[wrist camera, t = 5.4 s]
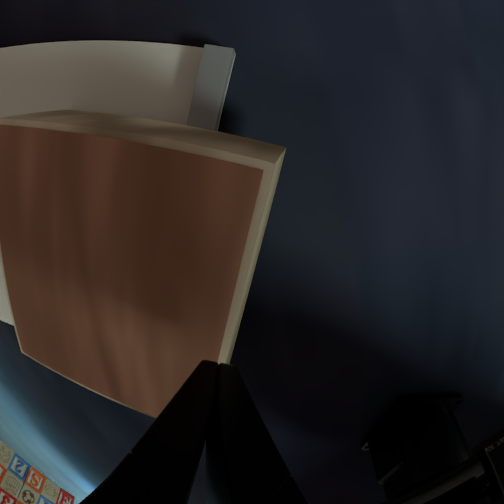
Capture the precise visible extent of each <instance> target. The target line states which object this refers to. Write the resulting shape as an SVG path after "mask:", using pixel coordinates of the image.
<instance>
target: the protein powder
mask: <svg viewBox="0 0 504 504" xmlns="http://www.w3.org/2000/svg"><path fill="white" fill-rule="evenodd" d="M482 448H484V449H485V450H486V452H487V453H488V455H489V457H490V458H491V460H492V462H493V464H494V467H495V469H496V471H497V473H498V476H499V478H500V480H501V483H502V486H503V488H504V429H502V430H501V431H499V432H497V433H496V434H494V435H493V436H491V437H490V438H488V439H487V440H486V441H484V442H483V443H481V444H480V445H478V446H477V447H475V448H473V449H472V450H470V451H471V453H472V455H473V456H474V455H475V454H477V452H478V451H479V450H481V449H482ZM484 477H486V474H485V473H484V474H482V475H481V476H479V477H477V480H478V481H479V480H481V479H483V478H484Z"/></svg>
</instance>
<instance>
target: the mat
mask: <svg viewBox="0 0 504 504" xmlns="http://www.w3.org/2000/svg"><path fill="white" fill-rule="evenodd" d="M235 55H236V54H235V51H234V49H233V48H227V47H221V46H215V45H209V44H205V46H204V48H200V47H193V46H185V45H176V44H166V43H154V42H138V41H107V40H93V41H63V42H48V43H37V44H27V45H19V46H12V47H5V48H0V118H1V117H7V116H14V115H21V114H29V113H37V112H46V111H57V110H79V111H90V112H99V113H108V114H116V115H124V116H132V117H139V118H146V119H152V120H159V121H165V122H171V123H176V124H182V125H188V126H193V127H198V128H203V129H208V130H213V131H218V127H219V122H220V118H221V113H222V109H223V104H224V100H225V96H226V92H227V87H228V83H229V79H230V75H231V71H232V67H233V63H234V59H235ZM0 320H1V321H4V322H6V323H9V324H11V325H13V326H14V324H13V320H12V315H11V311H10V307H9V302H8V298H7V293H6V288H5V283H4V277H3V271H2V265H1V259H0Z"/></svg>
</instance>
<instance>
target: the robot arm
mask: <svg viewBox="0 0 504 504" xmlns="http://www.w3.org/2000/svg"><path fill="white" fill-rule="evenodd" d="M462 401H463V397H462V395H461V394H451V395H419V396H402V397H400V398H398V399H397V400H396V402H395V403H394V404H393V405H392V407H391V408H390V409H389V411H388V412H387V413H386V414H385V416H384V417H383V418H382V419H381V421H380V422H379V423H378V424H377V425H376V427H375V428H374V429H373V430H372V431H371V433H370V434H369V435H368V436H367V437H366V438H365V440H364V441H363V442H362V443H361V444H360V445H361V449H362V450H370V454H371V458H372V461H373V465H374V469H375V473H376V477H377V481H378V482H379V483H380V484H382V483H383V486H384V490H385V494H386V498H387V502H384V503H382V504H504V488H503V486H502V483H501V480H500V478H499V476H498V473H497V471H496V469H495V467H494V464H493V462H492V460H491V458H490V457H489V455H488V453H487V452H486V450H485V449H484V448H482V449H481V450H479V451H478V452H477V454H475V455H474V456H473V455H472V453H471V451H470V448H469V446H468V444H467V442H466V439H465V437H464V435H463V433H462V431H461V429H460V426H459V424H458V422H457V420H456V418H455V416H454V414H453V412H454V411H455V410H456V408H457V407H458V406H459V405H460V404H461V403H462ZM205 440H206V498H207V504H308V503H307V501H306V500H305V498H304V496H303V495H302V493H301V492H300V490H299V488H298V486H297V484H296V483H295V481H294V479H293V477H291V476H290V472H289V470H288V468H287V466H286V465H285V463H284V461H283V459H282V457H281V455H280V453H279V451H278V449H277V448H276V446H275V444H274V442H273V440H272V438H271V436H270V434H269V432H268V430H267V428H266V426H265V424H264V422H263V420H262V418H261V416H260V414H259V412H258V410H257V408H256V406H255V404H254V402H253V400H252V398H251V396H250V394H249V392H248V390H247V388H246V386H245V384H244V382H243V379H242V377H241V375H240V373H239V371H238V369H237V367H236V366H235V365H232V364H226V363H220V364H219V365H218V363H217V362H215V361H210V360H202V361H201V362H200V363H199V364H198V365H197V367H196V368H195V369H194V371H193V372H192V373H191V374H190V376H189V377H188V378H187V380H186V381H185V382H184V384H183V385H182V386H181V387H180V389H179V390H178V391H177V392H176V394H175V395H174V396H173V398H172V399H171V400H170V401H169V403H168V404H167V405H166V407H165V408H164V409H163V410H162V412H161V413H160V414H159V415H158V417H157V418H156V419H155V420H154V422H153V423H152V424H151V425H150V427H149V428H148V429H147V431H146V432H145V433H144V434H143V436H142V437H141V438H140V439H139V441H138V442H137V443H136V444H135V445H134V447H133V448H132V449H131V453H128V454H127V455H126V456H125V458H124V459H123V460H122V461H121V462H120V464H119V465H118V466H117V467H116V468H115V469H114V470H113V472H112V473H111V474H110V475H109V476H108V477H107V478H106V479H105V480H104V481H103V482H102V483H101V484H100V485H99V486H98V487H97V488H96V489H95V490H94V491H93V492H92V493H91V494H90V495H88V496H87V497H86V498H85V499H84V500H83V501H81V502H80V503H79V504H187V503H188V500H189V496H190V493H191V489H192V486H193V482H194V479H195V476H196V472H197V469H198V465H199V462H200V458H201V455H202V451H203V448H204V444H205ZM484 473H485V474H486V477H484V478H483V479H481V480H479V481H478V480H477V477H479V476H481V475H482V474H484ZM289 476H290V477H289Z"/></svg>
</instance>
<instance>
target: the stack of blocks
mask: <svg viewBox="0 0 504 504" xmlns="http://www.w3.org/2000/svg"><path fill="white" fill-rule="evenodd" d="M74 498H75V497H73V496H72V495H70V494H69V493H67V492H66V491H64V490H63V489H61V488H60V487H59V486H57V485H56V484H54V483H53V482H52V481H50V480H49V479H47V478H46V477H45V476H44V475H42V474H41V473H40V472H38V471H37V470H36V469H35V468H33V467H32V466H30V465H29V464H28V463H27V462H26V461H24V460H23V459H22V458H21V457H19V456H18V455H17V454H16V453H15V452H13V451H12V450H11V449H10V448H9V447H8V446H7V445H5V444H4V443H3V442H2V441H1V440H0V504H73V502H74Z"/></svg>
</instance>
